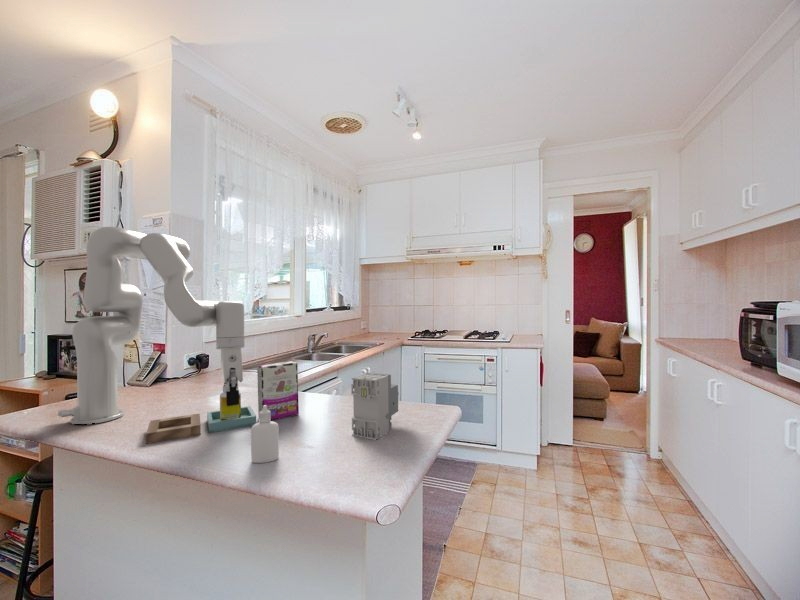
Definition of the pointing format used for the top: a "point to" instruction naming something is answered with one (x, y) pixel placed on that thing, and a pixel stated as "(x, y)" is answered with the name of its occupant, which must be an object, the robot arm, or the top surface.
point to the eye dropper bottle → (264, 438)
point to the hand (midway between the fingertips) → (231, 401)
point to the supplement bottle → (229, 407)
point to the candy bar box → (278, 389)
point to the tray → (230, 420)
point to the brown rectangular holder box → (173, 428)
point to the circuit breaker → (373, 404)
